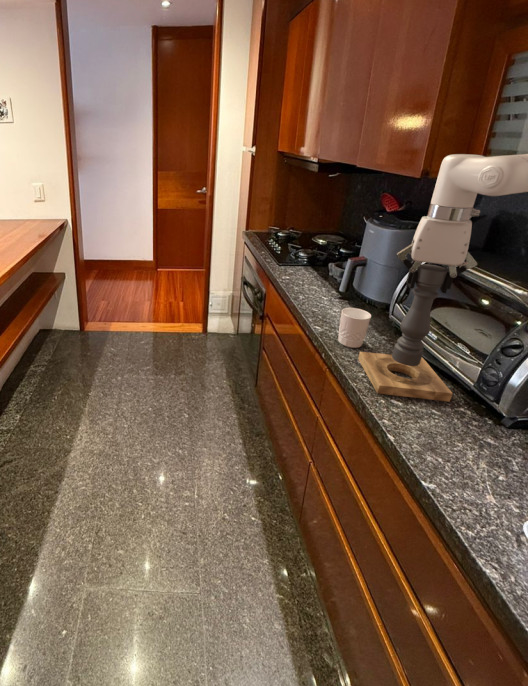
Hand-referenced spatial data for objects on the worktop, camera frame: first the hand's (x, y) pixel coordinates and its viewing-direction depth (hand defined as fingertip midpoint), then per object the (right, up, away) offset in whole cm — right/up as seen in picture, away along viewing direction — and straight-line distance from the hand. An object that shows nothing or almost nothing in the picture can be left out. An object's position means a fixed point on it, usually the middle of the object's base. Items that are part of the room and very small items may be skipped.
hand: (426, 288), depth 92 cm
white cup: (-4, -17, +27) cm, 32 cm away
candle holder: (0, -19, +8) cm, 20 cm away
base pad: (0, -24, +10) cm, 26 cm away
